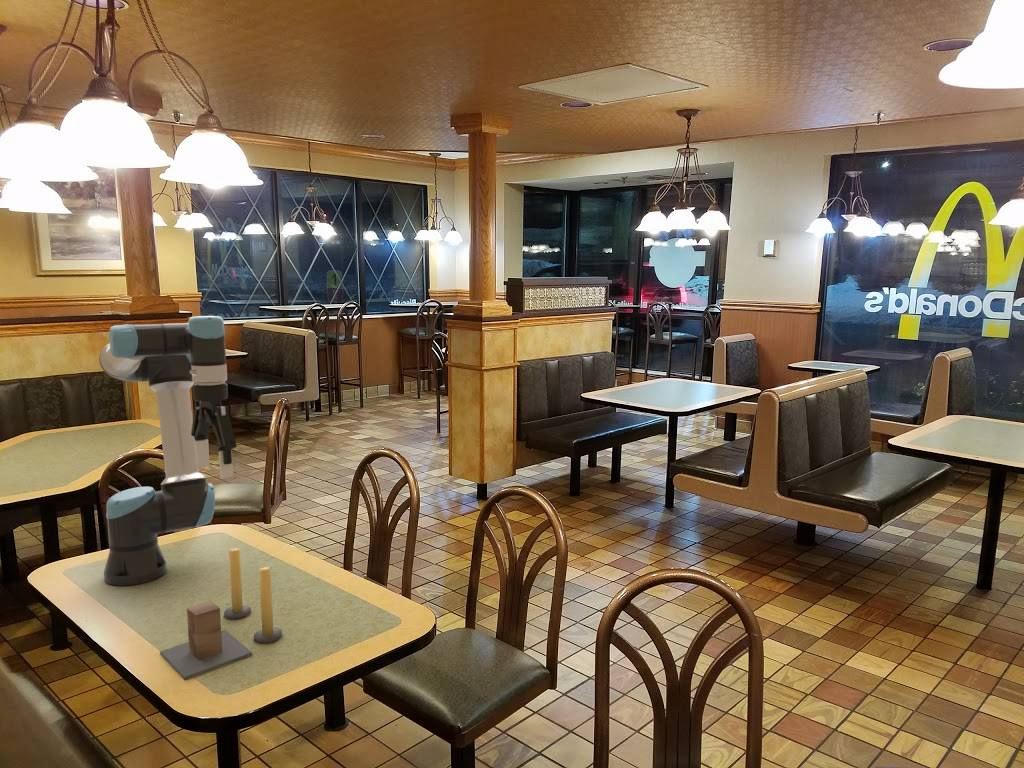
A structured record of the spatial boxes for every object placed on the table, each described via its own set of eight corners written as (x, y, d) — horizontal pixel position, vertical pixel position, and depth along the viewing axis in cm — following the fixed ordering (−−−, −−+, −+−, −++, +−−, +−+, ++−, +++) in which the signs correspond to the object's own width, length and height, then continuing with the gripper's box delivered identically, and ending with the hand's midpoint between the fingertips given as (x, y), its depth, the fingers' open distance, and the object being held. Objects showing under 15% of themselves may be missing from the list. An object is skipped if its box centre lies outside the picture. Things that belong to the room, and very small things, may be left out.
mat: (160, 654, 152) (160, 651, 152) (225, 632, 162) (224, 629, 162) (184, 679, 142) (184, 677, 142) (252, 654, 152) (252, 652, 152)
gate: (220, 613, 171) (216, 549, 169) (244, 605, 175) (241, 543, 173) (261, 646, 156) (257, 576, 153) (286, 637, 160) (283, 569, 158)
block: (189, 651, 152) (186, 607, 151) (212, 643, 156) (210, 600, 154) (198, 660, 149) (195, 615, 147) (222, 652, 152) (219, 607, 151)
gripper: (173, 379, 171) (178, 464, 174) (215, 390, 153) (220, 485, 156) (205, 376, 176) (209, 459, 179) (249, 386, 159) (253, 479, 162)
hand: (214, 471), depth 168 cm, fingers open, 13 cm apart
